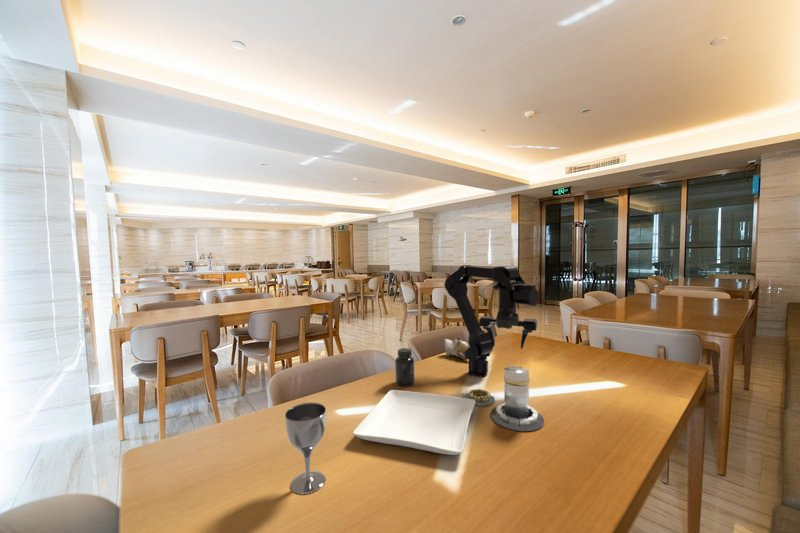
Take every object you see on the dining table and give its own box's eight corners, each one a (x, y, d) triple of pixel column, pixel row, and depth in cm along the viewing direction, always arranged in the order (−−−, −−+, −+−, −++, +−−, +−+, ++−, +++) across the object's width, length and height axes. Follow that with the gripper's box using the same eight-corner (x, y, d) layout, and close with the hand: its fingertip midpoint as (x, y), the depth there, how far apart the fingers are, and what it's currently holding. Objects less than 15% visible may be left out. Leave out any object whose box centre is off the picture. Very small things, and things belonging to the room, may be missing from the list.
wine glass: (292, 470, 73) (290, 403, 72) (330, 468, 73) (328, 401, 72) (283, 498, 65) (280, 422, 64) (325, 494, 65) (322, 419, 65)
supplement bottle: (410, 378, 123) (410, 346, 123) (417, 385, 117) (417, 351, 116) (393, 381, 121) (392, 348, 120) (399, 388, 115) (398, 354, 114)
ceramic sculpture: (450, 332, 155) (481, 338, 146) (449, 350, 156) (480, 358, 147) (439, 337, 146) (471, 345, 137) (438, 357, 147) (470, 365, 138)
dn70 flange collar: (485, 424, 90) (485, 417, 90) (496, 402, 103) (495, 396, 103) (542, 436, 84) (542, 428, 84) (545, 412, 96) (545, 405, 96)
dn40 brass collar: (461, 402, 103) (461, 396, 103) (469, 391, 111) (469, 385, 111) (491, 408, 99) (491, 402, 99) (497, 396, 107) (497, 390, 107)
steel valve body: (499, 415, 94) (498, 369, 93) (512, 407, 98) (512, 364, 97) (520, 424, 89) (520, 376, 88) (534, 416, 93) (534, 370, 92)
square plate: (476, 410, 99) (476, 397, 99) (462, 468, 73) (462, 451, 73) (390, 398, 108) (390, 387, 107) (351, 446, 82) (350, 431, 82)
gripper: (474, 304, 112) (475, 350, 113) (534, 308, 104) (534, 357, 104) (482, 300, 122) (482, 342, 123) (537, 302, 113) (537, 348, 114)
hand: (507, 347), depth 116 cm, fingers open, 9 cm apart
